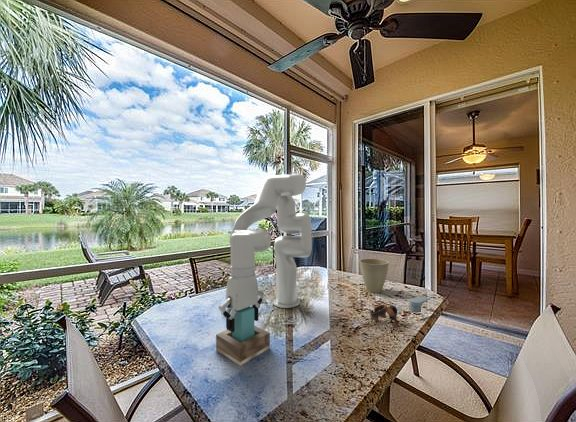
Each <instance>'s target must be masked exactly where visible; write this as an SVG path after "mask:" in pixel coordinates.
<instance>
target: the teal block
mask: <svg viewBox="0 0 576 422" xmlns="http://www.w3.org/2000/svg"><path fill="white" fill-rule="evenodd" d="M233 318H234V319H235V331H234V332H232V338H234V339H236V340H237V341H239V342H241V343H242V342H244V341H245V340H247V339H249V338H251V337H253V336H254V326H255V320H254V308H252V306H250V307H247V308H244V309H242V310H239V311H236V313H235V315H234V317H233Z"/></svg>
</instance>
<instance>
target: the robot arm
mask: <svg viewBox="0 0 576 422" xmlns="http://www.w3.org/2000/svg"><path fill="white" fill-rule="evenodd" d="M260 185H261V186H260V188H259V191H258V193H257V196H256V198H255V202H254V203H253V204H252V205H251V206H249V207H248V208H247V209H246V210H244V211H243V212H242V213H241V214H240V215H239V216H238V217H237V219H236V220H235V221H234V225H233V227H232V229H231V232H230V236H229V245H230V276H229V277H228V279H227V283H226V288H225V289H226V290H225V300H224V301H223V302H221V304H220V305H219V306H218V310H219V311H220V314H221V315H222V316H224V318H225V321H226V322H225V323H226V325H225V327H226V330H229V331H231V332H234V331H235V319H234V318H233V317H234V315H235V313H236V311H239V310H242V309H244V308H247V307H252V308H254V322H258V321H259V309H260V308H261V304H262V302H263V298H264V296H265V292H264V291H261V290H259V286H258V278H257V274H256V270H257V265H256V264H255V263H256V260H255V258H256V257H255V256H256V255H255V254H256V253H265V252H266V251H267V250H269V248H270V246H271V244H272V236H271V235H270V233H269V232H268V231H266V230H263V229H262V230H261V229H260V230H259V229H249V228H250V227H251V226H252V225H253V224H255V223H256V222H259V221H262V220H264V219H268V218H270V217H271V216H273V215H275V213H276V222H277V225H276V226H277V230H278V231H279V232H280V233H283V234H284V233H285V234H296V236H295V235H282V236H277V238H275V240H274V243H273V248H274V254H275V263H276V265H275V266H276V268H275V269H276V273H275V274H276V277H275V278H276V279H275V280H276V284H275V285H276V286H275V287H276V288H275V290H276V293H275V295H276V297H275V298H273V301H272V304H273V305H274V306H275V307H277V308H281V309H292V308H296V307H298V306H299V305H300V303H301V300H300V299H299V298H298V297H299V296H301V295H303V291H302V290H298V289H297V288H298V287H297V284H298V283H297V280H298V279H297V276H298V275H297V274H298V273H297V264H296V262H295V259H294V258H302V259H303V258H308V257H310V256H311V254H312V247H313V246H312V245H313V242H312V227H313V226H312V218H311V216H310V215H309V213H307V212H297V211H296V201H295V199H294V196H298V195H299V196H300V195H301V194H303V193H304V192H305V190H306V187H307V181H306V178H305V177H304V175H303V174H301V173H298V174H297V173H296V174H292V173H291V174H275V175H274V174H272V175H267V176H266V177H264V179H263V180H262V183H261V184H260ZM276 211H277V212H276ZM297 234H298V235H300V236H297ZM297 290H298V291H297Z"/></svg>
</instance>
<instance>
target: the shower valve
mask: <svg viewBox="0 0 576 422" xmlns="http://www.w3.org/2000/svg"><path fill="white" fill-rule="evenodd" d="M429 300H431V299H430V298H429V297H426V296H419V297H414V298H410V299H409V303H408V304H410V305H409V310H410V311H413V312H421V308H422V306H423V305H424V304H423V303H425V302H427V301H429ZM402 306H403V305H401V306H397V307H396V308H397V311H399V312H400V311H401V309H402V308H401V307H402ZM400 308H401V309H400ZM399 312H398V313H399ZM436 315H437V313H436V312H435V316H436Z"/></svg>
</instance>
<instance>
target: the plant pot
mask: <svg viewBox="0 0 576 422" xmlns="http://www.w3.org/2000/svg"><path fill="white" fill-rule="evenodd" d="M389 263H390V262H389V260H385V259H380V258H363V259H359V266H360V271H361V272H360V273H361V276H362V280H363V284H364V286H365V289H366V291H367V292H369V293H372V294H379V293H381V292H382V290H383V288H384V285H385V283H386V278H387V275H388V270H389V265H390V264H389Z"/></svg>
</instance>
